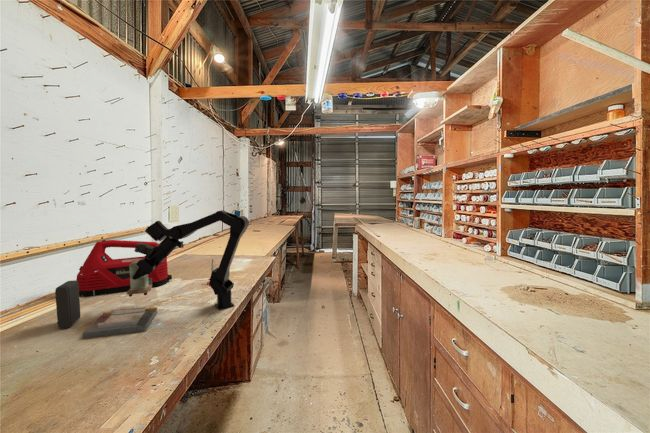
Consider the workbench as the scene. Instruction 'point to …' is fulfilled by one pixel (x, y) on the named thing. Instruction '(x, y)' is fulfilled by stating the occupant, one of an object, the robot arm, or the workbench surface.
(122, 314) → the dock plate
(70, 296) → the card reader
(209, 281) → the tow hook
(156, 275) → the power tool
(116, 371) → the workbench surface
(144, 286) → the layered pillar on plinth
